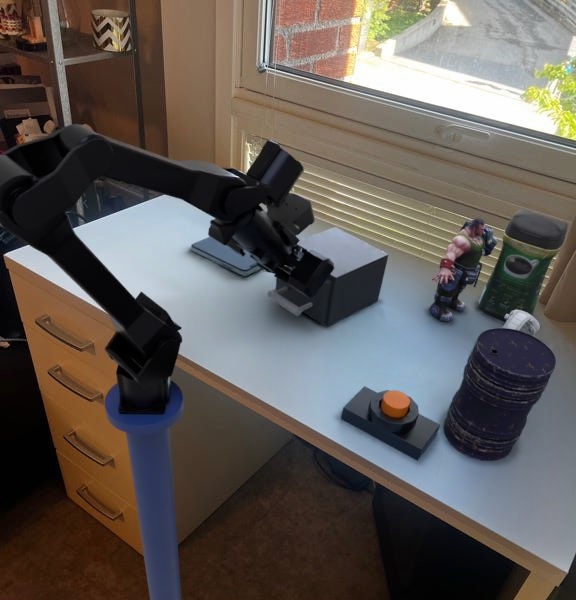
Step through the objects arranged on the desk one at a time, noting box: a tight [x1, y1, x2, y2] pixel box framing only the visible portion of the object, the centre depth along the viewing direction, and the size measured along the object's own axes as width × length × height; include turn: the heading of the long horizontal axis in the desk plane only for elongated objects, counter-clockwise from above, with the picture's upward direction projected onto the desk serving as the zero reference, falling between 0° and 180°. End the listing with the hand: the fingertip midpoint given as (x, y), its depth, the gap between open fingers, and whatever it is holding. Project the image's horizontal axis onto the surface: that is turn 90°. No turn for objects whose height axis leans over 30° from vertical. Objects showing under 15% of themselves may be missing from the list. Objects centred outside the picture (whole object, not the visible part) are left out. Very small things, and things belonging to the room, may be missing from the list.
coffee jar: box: [478, 208, 569, 322], centre depth 97 cm, size 10×8×19 cm
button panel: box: [340, 386, 441, 461], centre depth 76 cm, size 12×6×4 cm, turn 55°
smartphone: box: [190, 236, 262, 276], centre depth 108 cm, size 8×2×15 cm
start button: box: [381, 389, 410, 418], centre depth 74 cm, size 4×4×2 cm
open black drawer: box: [267, 278, 332, 324], centre depth 96 cm, size 17×11×8 cm
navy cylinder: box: [442, 327, 557, 462], centre depth 73 cm, size 10×10×15 cm
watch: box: [502, 310, 541, 336], centre depth 85 cm, size 6×8×11 cm
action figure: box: [428, 217, 498, 323], centre depth 96 cm, size 20×7×18 cm, turn 139°
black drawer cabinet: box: [298, 226, 389, 328], centre depth 98 cm, size 14×13×10 cm
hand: (300, 276), depth 92 cm, fingers closed, pressing on open black drawer
